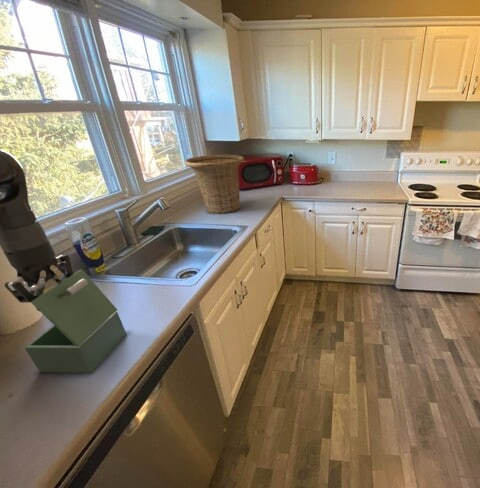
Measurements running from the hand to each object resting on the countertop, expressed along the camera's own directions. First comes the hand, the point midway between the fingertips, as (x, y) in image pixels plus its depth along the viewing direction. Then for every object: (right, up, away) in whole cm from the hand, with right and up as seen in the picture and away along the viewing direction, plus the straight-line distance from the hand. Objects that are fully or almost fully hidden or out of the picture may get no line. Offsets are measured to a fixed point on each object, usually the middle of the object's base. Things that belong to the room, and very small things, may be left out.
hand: (57, 302), depth 70 cm
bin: (+1, -15, +7) cm, 17 cm away
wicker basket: (-1, +38, +119) cm, 125 cm away
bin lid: (+5, -1, 0) cm, 5 cm away
